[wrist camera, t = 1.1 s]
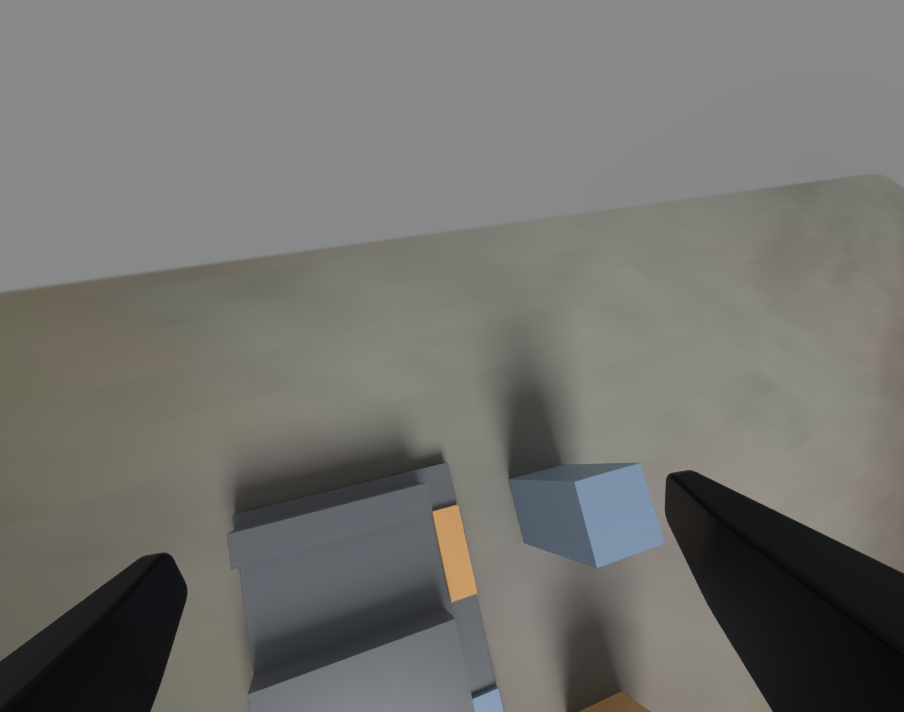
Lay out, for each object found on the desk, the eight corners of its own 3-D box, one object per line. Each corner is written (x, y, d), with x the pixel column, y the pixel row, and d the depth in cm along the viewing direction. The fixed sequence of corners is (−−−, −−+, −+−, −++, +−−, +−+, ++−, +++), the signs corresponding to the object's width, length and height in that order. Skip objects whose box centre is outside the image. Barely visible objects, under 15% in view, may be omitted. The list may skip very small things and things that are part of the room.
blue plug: (577, 525, 30) (664, 543, 23) (524, 543, 29) (597, 568, 21) (561, 464, 31) (640, 462, 23) (508, 479, 30) (574, 481, 22)
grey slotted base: (523, 828, 25) (549, 872, 22) (294, 954, 21) (291, 1027, 18) (443, 462, 29) (457, 461, 26) (234, 514, 25) (224, 519, 22)
